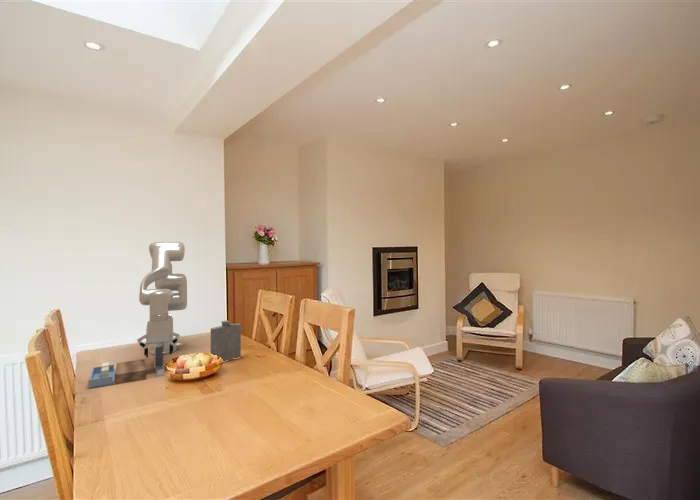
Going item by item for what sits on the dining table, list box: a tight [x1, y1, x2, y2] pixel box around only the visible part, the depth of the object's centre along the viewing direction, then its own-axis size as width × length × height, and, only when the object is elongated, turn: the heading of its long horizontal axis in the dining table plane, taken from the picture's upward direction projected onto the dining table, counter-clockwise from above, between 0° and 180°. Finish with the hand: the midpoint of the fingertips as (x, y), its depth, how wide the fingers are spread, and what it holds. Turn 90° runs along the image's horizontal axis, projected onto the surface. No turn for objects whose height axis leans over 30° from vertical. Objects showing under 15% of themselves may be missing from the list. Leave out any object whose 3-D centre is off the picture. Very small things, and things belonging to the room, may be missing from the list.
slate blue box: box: [88, 364, 116, 389], centre depth 154 cm, size 8×18×4 cm, turn 32°
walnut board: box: [115, 358, 147, 385], centre depth 159 cm, size 11×18×4 cm, turn 32°
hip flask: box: [210, 320, 242, 361], centre depth 180 cm, size 16×4×20 cm, turn 139°
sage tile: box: [101, 367, 109, 378], centre depth 151 cm, size 5×5×2 cm
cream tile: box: [101, 361, 110, 368], centre depth 157 cm, size 5×5×2 cm
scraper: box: [153, 346, 165, 378], centre depth 165 cm, size 3×16×11 cm, turn 32°
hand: (158, 355), depth 165 cm, fingers open, 9 cm apart
